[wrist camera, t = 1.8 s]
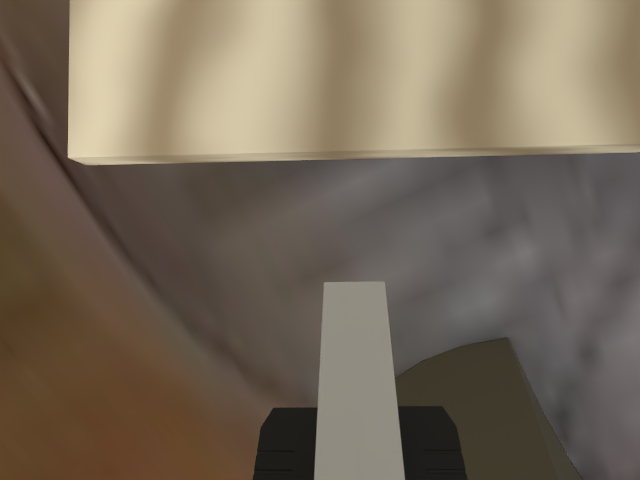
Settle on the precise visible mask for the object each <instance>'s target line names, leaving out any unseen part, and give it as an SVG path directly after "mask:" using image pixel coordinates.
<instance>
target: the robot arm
mask: <svg viewBox="0 0 640 480" xmlns="http://www.w3.org/2000/svg"><path fill="white" fill-rule="evenodd" d="M253 480H468V479H467V474H466V471H465V464H464V459H463V455H462V452H461V445H460V440H459V435H458V431H457V426H456V425H455V423H454V422H453V421H452V419H451V418H450V416H449V415H448V413H447V412H446V411H445V409H444V408H443V406H397V397H396V387H395V377H394V368H393V358H392V348H391V338H390V329H389V319H388V309H387V299H386V290H385V282H324V295H323V315H322V334H321V354H320V373H319V393H318V408H273V409H272V411H271V413H270V414H269V416H268V417H267V419H266V420H265V422H264V423H263V425H262V427H261V430H260V436H259V443H258V449H257V455H256V462H255V468H254V475H253Z"/></svg>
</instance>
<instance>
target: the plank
mask: <svg viewBox="0 0 640 480" xmlns="http://www.w3.org/2000/svg"><path fill="white" fill-rule="evenodd" d="M629 152H640V0H70V35H69V111H68V158H70V159H73V160H75V161H78V162H80V163H83V164H85V165H112V164H155V163H198V162H241V161H284V160H327V159H370V158H413V157H456V156H499V155H542V154H586V153H629Z"/></svg>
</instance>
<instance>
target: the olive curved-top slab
mask: <svg viewBox="0 0 640 480" xmlns="http://www.w3.org/2000/svg"><path fill="white" fill-rule="evenodd" d="M395 387H396V397H397V406H443V408H444V409H445V411H446V412H447V413H448V415H449V416H450V418H451V419H452V421H453V422H454V423H455V425H456V426H457V431H458V435H459V440H460V445H461V452H462V455H463V459H464V464H465V471H466V474H467V479H468V480H583V479H582V478H581V476H580V475H579V474H578V472H577V471H576V469H575V468H574V466H573V465H572V463H571V462H570V461H569V459H568V457H567V455H566V453H565V451H564V450H563V448H562V446H561V444H560V442H559V440H558V439H557V437H556V435H555V433H554V431H553V429H552V428H551V426H550V424H549V422H548V420H547V418H546V416H545V415H544V413H543V411H542V409H541V407H540V405H539V404H538V401H537V399H536V397H535V395H534V393H533V391H532V388H531V386H530V384H529V382H528V380H527V378H526V375H525V373H524V371H523V369H522V367H521V364H520V362H519V360H518V358H517V356H516V354H515V351H514V349H513V347H512V345H511V343H510V341H509V338H504V339H498V340H493V341H487V342H481V343H476V344H470V345H464V346H460V347H458V348H455V349H453V350H450V351H447V352H445V353H442V354H439V355H437V356H434V357H432V358H429V359H426V360H424V361H421V362H420V363H418V364H417V365H415V366H414V367H412V368H411V369H409V370H407V371H406V372H404V373H403V374H401V375H400V376H398V377H397V378H395Z"/></svg>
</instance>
